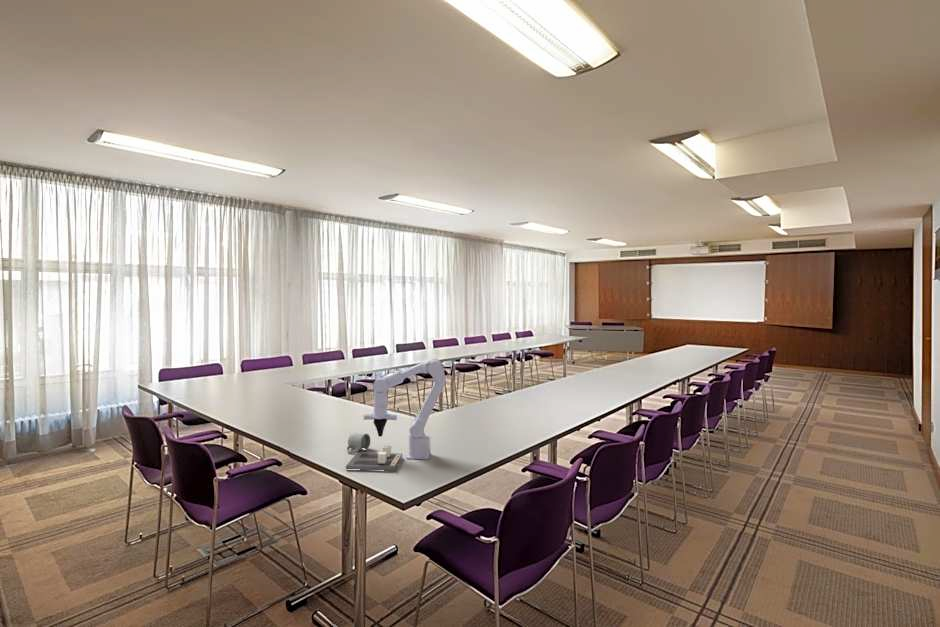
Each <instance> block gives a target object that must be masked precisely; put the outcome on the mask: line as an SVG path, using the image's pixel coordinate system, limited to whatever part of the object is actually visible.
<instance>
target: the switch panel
mask: <svg viewBox="0 0 940 627" xmlns="http://www.w3.org/2000/svg"><path fill="white" fill-rule="evenodd" d="M378 453H379V452H356V454H355V455H354V456H353V457H352V458H351V459H350V460H349V462H348V463H347V464H346V465H345V470H346V469H360V470H384V471H395V472H396V470H397V468H398V467H399V465H400V464H401V462H400V461H402V460H403V453H395V452H393V453H392V452H391V455H390V457H387V461H386V463H378ZM401 459H402V460H401ZM398 464H399V465H398ZM397 466H398V467H397Z"/></svg>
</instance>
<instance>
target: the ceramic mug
mask: <svg viewBox="0 0 940 627" xmlns="http://www.w3.org/2000/svg"><path fill="white" fill-rule="evenodd" d="M347 445H348V446H346V451H348V452H351V453H353V454H355V452H356V453H358V452H359V451H363V452H365V451H364V450H363V449H362V448H365V449H367V450H368V449H369V448H370V445H371V435H369V434H368V433H361V432H360V433H359V432H354V433H352V434H350V435H349V437H348V439H347ZM350 449H352V450H350ZM348 452H347V453H348Z"/></svg>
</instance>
